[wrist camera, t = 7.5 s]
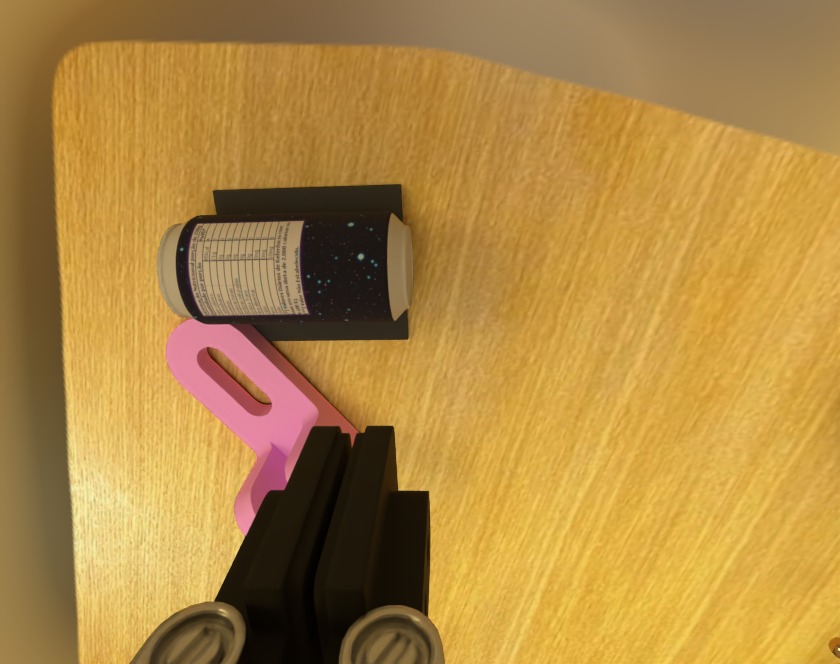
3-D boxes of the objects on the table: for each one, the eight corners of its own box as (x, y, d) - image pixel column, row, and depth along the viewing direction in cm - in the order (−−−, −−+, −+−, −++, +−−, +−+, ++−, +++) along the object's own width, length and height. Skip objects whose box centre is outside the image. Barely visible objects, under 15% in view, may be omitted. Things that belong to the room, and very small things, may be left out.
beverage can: (408, 187, 26) (179, 193, 27) (401, 262, 22) (136, 266, 23) (415, 271, 30) (218, 274, 31) (410, 345, 26) (186, 346, 27)
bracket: (364, 437, 34) (343, 514, 27) (304, 478, 35) (272, 559, 29) (217, 291, 30) (155, 339, 24) (159, 344, 32) (86, 402, 25)
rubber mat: (214, 190, 28) (212, 190, 28) (400, 184, 28) (400, 184, 27) (241, 339, 32) (239, 341, 31) (408, 337, 31) (408, 339, 31)
